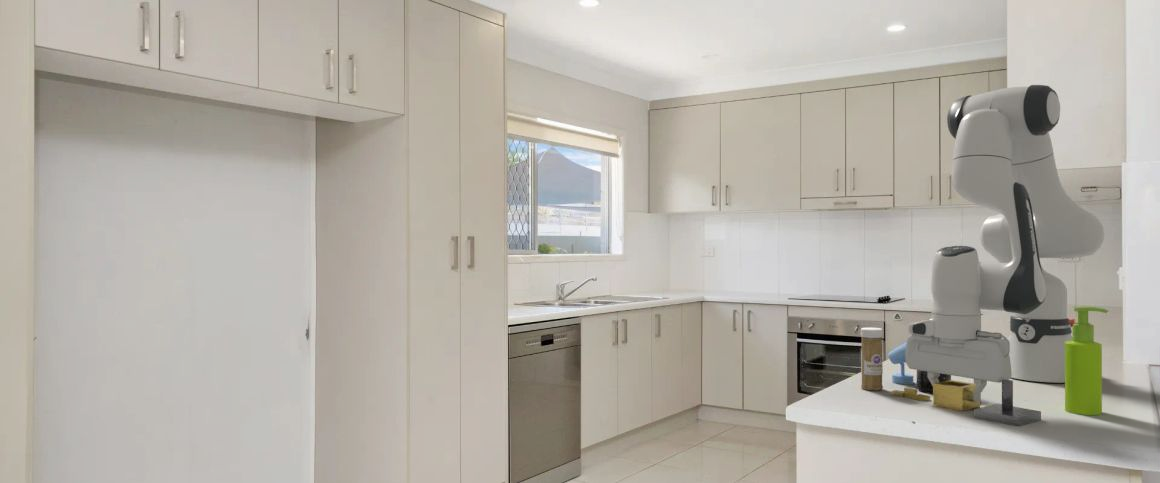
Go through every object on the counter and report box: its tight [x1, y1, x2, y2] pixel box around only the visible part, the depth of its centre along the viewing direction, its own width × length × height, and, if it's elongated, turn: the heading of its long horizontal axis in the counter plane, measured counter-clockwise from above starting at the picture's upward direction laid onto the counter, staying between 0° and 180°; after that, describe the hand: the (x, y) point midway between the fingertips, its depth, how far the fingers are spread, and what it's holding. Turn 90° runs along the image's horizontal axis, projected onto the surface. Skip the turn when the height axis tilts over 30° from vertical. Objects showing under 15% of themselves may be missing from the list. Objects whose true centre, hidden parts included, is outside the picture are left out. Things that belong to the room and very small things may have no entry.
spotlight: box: [888, 341, 914, 385], centre depth 176 cm, size 5×10×7 cm
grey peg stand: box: [973, 379, 1042, 427], centre depth 142 cm, size 8×8×7 cm
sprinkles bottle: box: [860, 326, 884, 392], centre depth 169 cm, size 5×5×14 cm
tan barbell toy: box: [890, 387, 931, 402], centre depth 160 cm, size 2×8×2 cm, turn 33°
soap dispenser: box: [1064, 306, 1109, 416], centre depth 146 cm, size 6×7×20 cm
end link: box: [932, 379, 981, 412], centre depth 152 cm, size 6×6×4 cm
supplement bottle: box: [916, 370, 952, 394], centre depth 167 cm, size 7×7×12 cm
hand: (956, 398), depth 152 cm, fingers closed on end link, 6 cm apart
